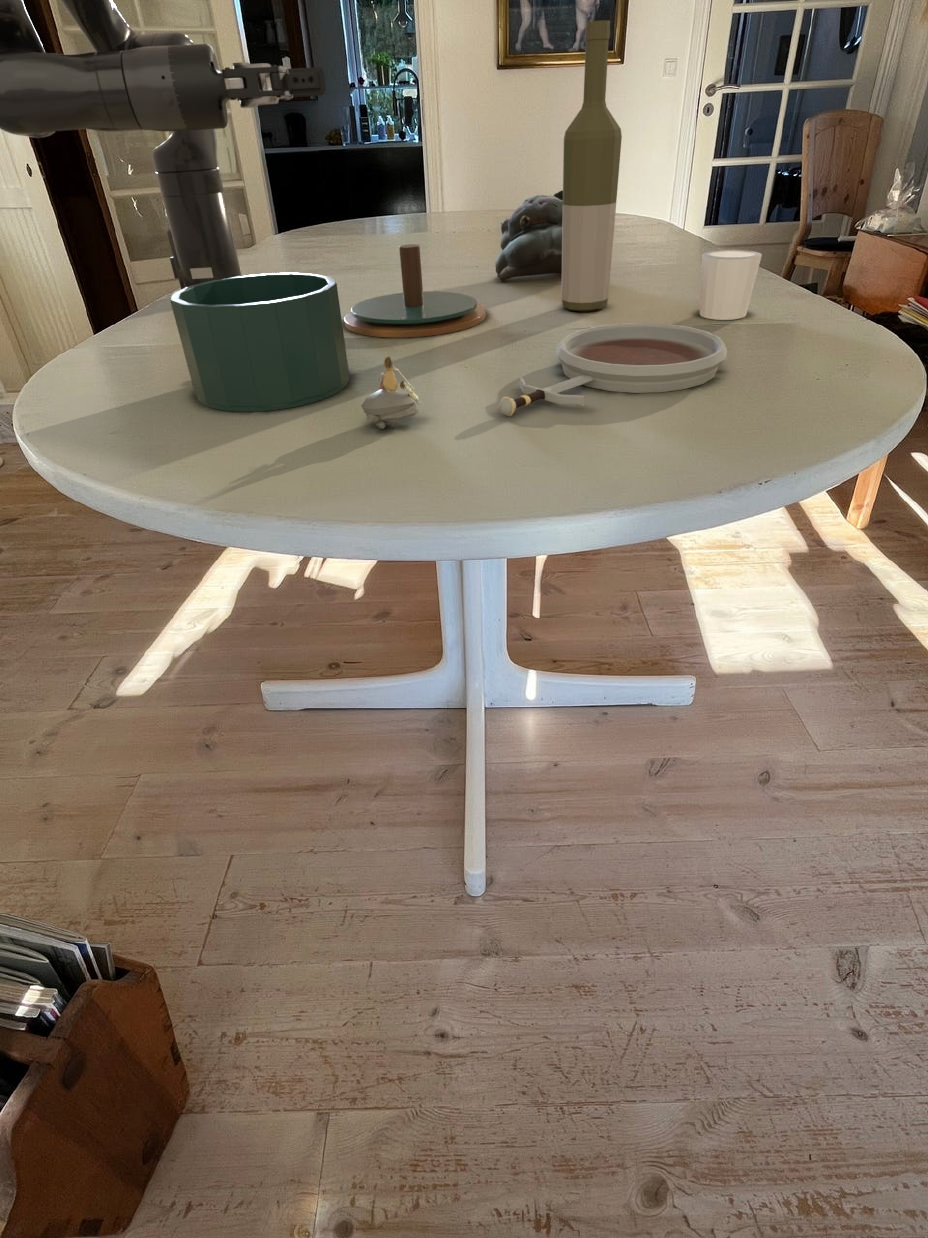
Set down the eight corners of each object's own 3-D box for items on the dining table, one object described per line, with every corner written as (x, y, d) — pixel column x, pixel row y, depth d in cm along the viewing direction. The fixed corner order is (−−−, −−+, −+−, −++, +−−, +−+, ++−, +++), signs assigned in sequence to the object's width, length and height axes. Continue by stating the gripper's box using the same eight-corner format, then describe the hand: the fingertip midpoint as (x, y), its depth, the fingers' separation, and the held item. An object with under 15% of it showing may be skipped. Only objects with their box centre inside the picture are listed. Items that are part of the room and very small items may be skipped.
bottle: (586, 316, 93) (601, 16, 75) (547, 309, 97) (553, 24, 80) (621, 306, 96) (643, 18, 79) (581, 299, 101) (594, 25, 83)
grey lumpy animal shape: (479, 282, 114) (476, 190, 112) (520, 300, 123) (517, 215, 122) (561, 256, 105) (558, 156, 103) (598, 278, 114) (597, 186, 113)
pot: (164, 399, 73) (135, 299, 67) (270, 358, 83) (252, 269, 78) (279, 420, 66) (257, 311, 60) (378, 373, 77) (367, 277, 71)
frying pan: (439, 373, 68) (626, 311, 82) (441, 403, 69) (625, 337, 83) (573, 414, 57) (763, 335, 71) (572, 449, 59) (758, 365, 73)
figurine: (366, 434, 62) (357, 364, 58) (362, 417, 65) (353, 350, 62) (425, 427, 63) (420, 357, 59) (418, 411, 66) (413, 344, 63)
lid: (326, 322, 93) (316, 254, 89) (398, 296, 105) (392, 234, 100) (434, 333, 86) (429, 259, 81) (499, 303, 98) (498, 237, 93)
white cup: (683, 312, 92) (690, 252, 88) (726, 305, 94) (735, 246, 90) (718, 323, 87) (728, 260, 83) (763, 315, 89) (774, 253, 85)
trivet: (315, 330, 94) (314, 323, 93) (397, 299, 107) (396, 294, 106) (437, 343, 85) (437, 336, 85) (510, 308, 99) (510, 302, 98)
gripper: (154, 39, 70) (319, 32, 72) (176, 50, 82) (318, 44, 84) (175, 131, 75) (330, 122, 77) (194, 129, 86) (328, 122, 88)
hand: (324, 81), depth 80 cm, fingers open, 8 cm apart
